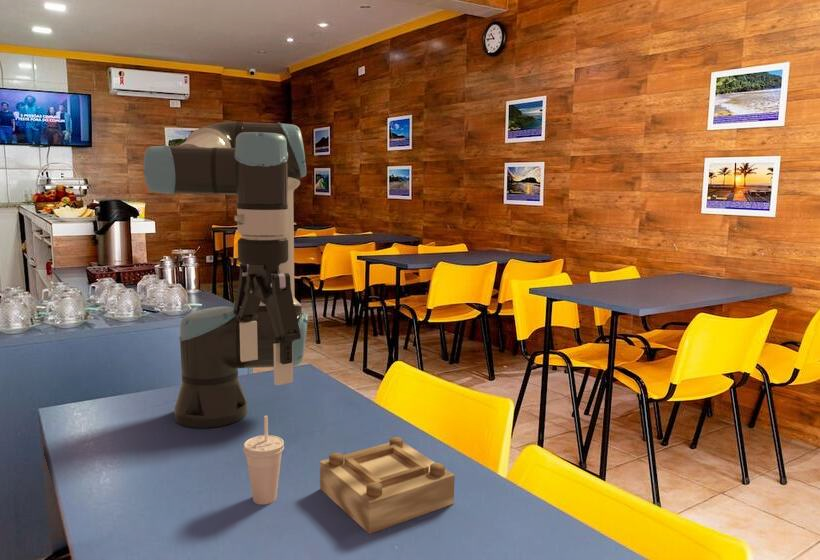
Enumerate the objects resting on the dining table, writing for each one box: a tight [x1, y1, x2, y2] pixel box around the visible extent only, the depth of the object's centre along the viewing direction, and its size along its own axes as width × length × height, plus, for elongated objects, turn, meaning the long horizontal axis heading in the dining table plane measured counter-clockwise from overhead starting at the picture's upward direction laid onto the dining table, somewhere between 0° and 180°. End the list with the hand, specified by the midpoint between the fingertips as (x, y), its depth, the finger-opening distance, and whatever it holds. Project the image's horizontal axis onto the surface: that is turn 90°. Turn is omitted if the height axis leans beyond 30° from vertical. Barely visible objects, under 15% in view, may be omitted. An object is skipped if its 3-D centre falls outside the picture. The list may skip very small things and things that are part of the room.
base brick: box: [319, 436, 456, 535], centre depth 103 cm, size 16×16×6 cm
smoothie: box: [243, 415, 285, 506], centre depth 100 cm, size 6×6×14 cm
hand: (265, 371), depth 98 cm, fingers open, 13 cm apart
